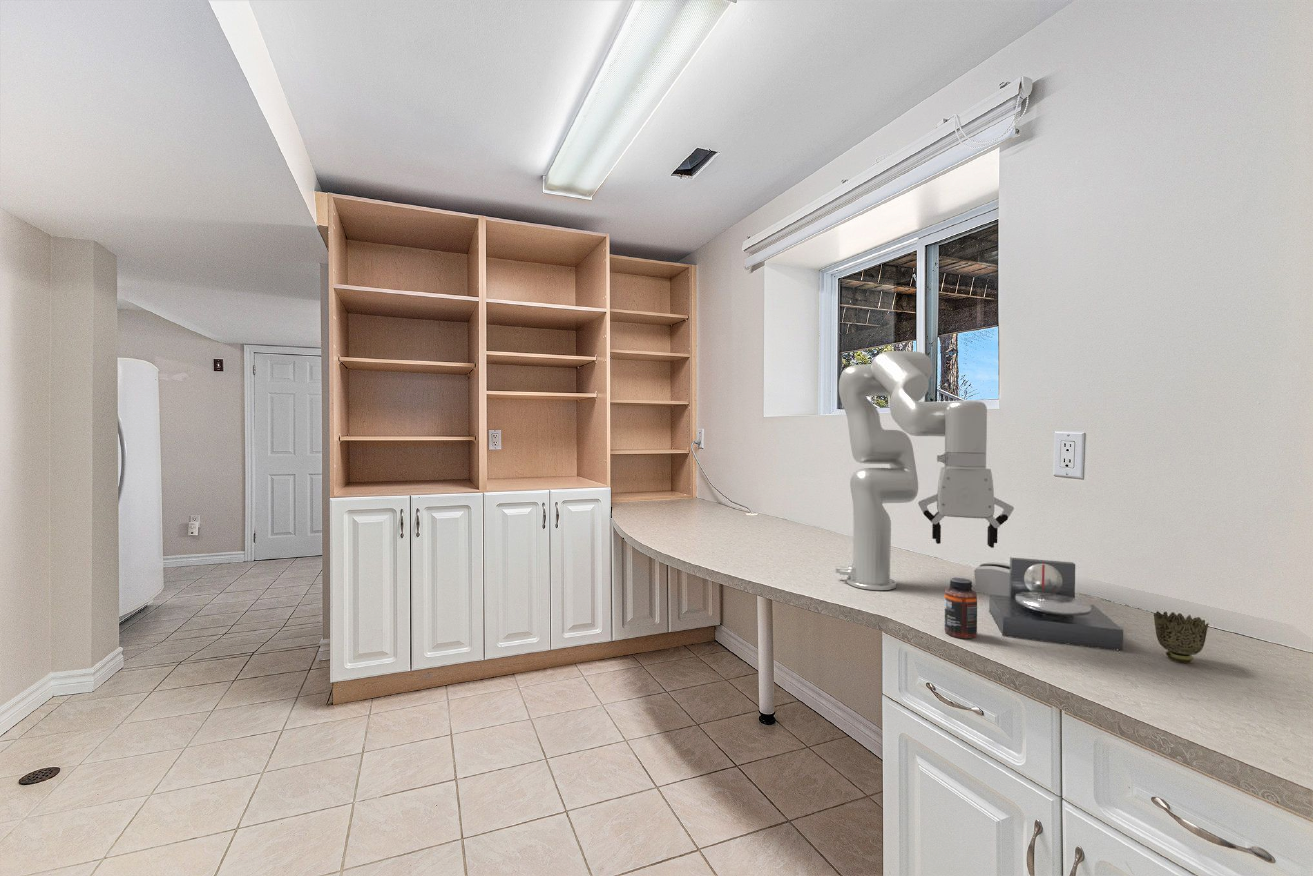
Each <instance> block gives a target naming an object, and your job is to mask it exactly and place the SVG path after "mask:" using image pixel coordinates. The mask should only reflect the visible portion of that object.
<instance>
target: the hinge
mask: <svg viewBox="0 0 1313 876" xmlns="http://www.w3.org/2000/svg"><path fill="white" fill-rule="evenodd" d="M973 574H974V575H973V576H974V585H975V586H974V587H975V592H976V591H978V592H977V593H980V594H983V593H984V595H988V596H989V594H991V595H1001V596H1009V585H1010V563H1005V562H985V563H981V564H979V566H977V567H975V569H974V571H973Z"/></svg>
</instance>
